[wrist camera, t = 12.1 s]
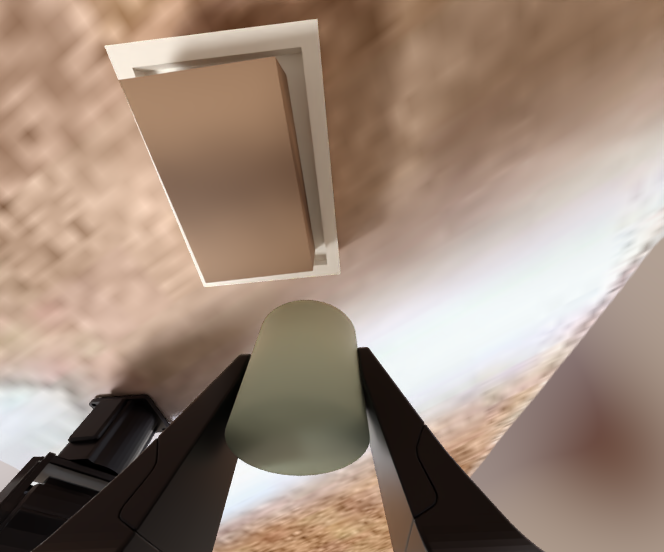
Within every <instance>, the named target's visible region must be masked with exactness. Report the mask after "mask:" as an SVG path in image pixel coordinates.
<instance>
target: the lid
mask: <svg viewBox="0 0 664 552" xmlns="http://www.w3.org/2000/svg"><path fill="white" fill-rule="evenodd" d="M119 82H120V85H121V87H122V89H123V92H124V94H125V96H126V99H127V101H128V103H129V106H130V108H131V110H132V112H133V115H134V117H135V119H136V122H137V124H138V126H139V129H140V131H141V133H142V136H143V138H144V140H145V143H146V145H147V147H148V150H149V152H150V154H151V157H152V159H153V161H154V164H155V166H156V168H157V171H158V173H159V175H160V178H161V180H162V182H163V185H164V187H165V189H166V192H167V194H168V196H169V199H170V201H171V203H172V205H173V208H174V210H175V212H176V215H177V217H178V219H179V222H180V224H181V226H182V229H183V231H184V233H185V236H186V238H187V240H188V243H189V245H190V247H191V250H192V252H193V254H194V257H195V259H196V261H197V264H198V266H199V268H200V271H201V273H202V275H203V278H204V280H205V282H206V283H212V282H221V281H230V280H238V279H247V278H256V277H265V276H273V275H282V274H291V273H299V272H308V271H313V266H314V256H315V245H314V239H313V233H312V227H311V221H310V215H309V209H308V203H307V197H306V191H305V185H304V179H303V172H302V166H301V160H300V154H299V148H298V142H297V136H296V130H295V124H294V118H293V112H292V106H291V100H290V93H289V87H288V81H287V75H286V73H285V72H284V70H283V69H282V67H281V65H280V64H279V62H278V61H277V59H276V57H275V56H274V57H267V58H260V59H254V60H247V61H241V62H234V63H227V64H221V65H214V66H208V67H201V68H194V69H188V70H181V71H174V72H168V73H161V74H155V75H148V76H141V77H135V78H128V79H122V80H119Z"/></svg>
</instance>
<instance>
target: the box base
mask: <svg viewBox="0 0 664 552" xmlns="http://www.w3.org/2000/svg"><path fill="white" fill-rule="evenodd" d="M105 48H106V51H107V53H108V56H109V58H110V60H111V63H112V65H113V68H114V70H115V72H116V75H117V77H118V80H122V79H128V78H135V77H141V76H148V75H155V74H161V73H168V72H174V71H181V70H188V69H194V68H201V67H208V66H214V65H221V64H227V63H234V62H241V61H247V60H254V59H260V58H267V57H274V56H275V57H276V59H277V61H278V62H279V64H280V65H281V67H282V69H283V70H284V72H285V73H286V75H287V81H288V87H289V93H290V100H291V106H292V112H293V118H294V124H295V130H296V136H297V142H298V148H299V154H300V160H301V166H302V172H303V179H304V185H305V191H306V197H307V203H308V209H309V215H310V221H311V227H312V233H313V239H314V245H315V256H314V266H313V271H308V272H299V273H291V274H282V275H273V276H265V277H256V278H247V279H238V280H230V281H221V282H212V283H206V282H205V280H204V278H203V275H202V273H201V271H200V268H199V266H198V264H197V261H196V259H195V257H194V254H193V252H192V250H191V247H190V245H189V243H188V240H187V238H186V236H185V233H184V231H183V229H182V226H181V224H180V222H179V219H178V217H177V215H176V212H175V210H174V208H173V205H172V203H171V201H170V199H169V196H168V194H167V192H166V189H165V187H164V185H163V182H162V180H161V178H160V175H159V173H158V171H157V168H156V166H155V164H154V161H153V159H152V157H151V154H150V152H149V150H148V147H147V145H146V143H145V140H144V138H143V136H142V138H143V140H144V143H145V145H146V148H147V150H148V152H149V155H150V157H151V160H152V162H153V165H154V167H155V169H156V172H157V174H158V177H159V179H160V182H161V184H162V186H163V189H164V191H165V194H166V196H167V198H168V201H169V203H170V206H171V208H172V211H173V213H174V215H175V218H176V220H177V223H178V225H179V228H180V230H181V232H182V235H183V237H184V240H185V242H186V245H187V247H188V249H189V252H190V254H191V257H192V259H193V261H194V264H195V266H196V269H197V271H198V274H199V276H200V278H201V281H202V283H203V286H204V287H211V286H221V285H232V284H242V283H253V282H263V281H274V280H284V279H295V278H306V277H316V276H327V275H337V274H341V272H340V261H339V250H338V239H337V228H336V217H335V206H334V195H333V184H332V173H331V162H330V152H329V141H328V130H327V119H326V108H325V97H324V86H323V75H322V64H321V53H320V42H319V31H318V20H317V19H312V20H304V21H296V22H289V23H281V24H273V25H265V26H257V27H249V28H241V29H233V30H225V31H217V32H210V33H202V34H194V35H186V36H178V37H170V38H162V39H154V40H146V41H138V42H131V43H123V44H115V45H107V46H105ZM125 97H126V96H125ZM127 102H128V101H127ZM128 104H129V103H128ZM130 109H131V108H130ZM131 111H132V110H131ZM132 114H133V112H132ZM133 116H134V115H133ZM134 119H135V117H134ZM135 121H136V119H135ZM136 123H137V122H136ZM137 126H138V124H137ZM138 128H139V126H138ZM139 131H140V129H139ZM140 133H141V131H140ZM141 135H142V133H141Z"/></svg>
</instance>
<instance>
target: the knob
mask: <svg viewBox="0 0 664 552" xmlns="http://www.w3.org/2000/svg"><path fill="white" fill-rule="evenodd" d="M357 349H358V348H357V341H356V333H355V329H354V326H353V324H352V322H351V321H350V319H349V318H348V317H347V316H346V315H345V314H344V313H343V312H342V311H341V310H339V309H337V308H336V307H334V306H332V305H330V304H327V303H324V302H319V301H313V300H300V301H293V302H289V303H286V304H284V305H281V306H279V307H277V308H276V309H275V310H273V311H272V312H271V313H270V314H269V315H268V316H267V317H266V318H265V320H264V322H263V323H262V326H261V329H260V332H259V335H258V338H257V341H256V343H255V346H254V349H253V352H252V355H251V358H250V360H249V363H248V366H247V369H246V372H245V375H244V377H243V380H242V383H241V386H240V389H239V392H238V394H237V397H236V400H235V403H234V406H233V409H232V412H231V414H230V417H229V420H228V423H227V426H226V429H225V441H226V443H227V446H228V447H229V449H230V450H231V451H232V452H233V453H234V455H236V456H237V457H238V458H239V459H241V460H242V461H244V462H245V463H247V464H249V465H251V466H253V467H256V468H258V469H261V470H264V471H268V472H272V473H277V474H283V475H296V476H305V475H317V474H323V473H328V472H332V471H335V470H338V469H341V468H344V467H346V466H348V465H350V464H352V463H353V462H355V461H356V460H357V459H359V458H360V457H361V456H362V455H363V454H364V453H365V451H366V449H367V448H368V445H369V442H370V433H369V426H368V418H367V411H366V404H365V397H364V391H363V386H362V380H361V373H360V366H359V359H358V352H357Z"/></svg>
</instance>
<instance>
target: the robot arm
mask: <svg viewBox="0 0 664 552" xmlns="http://www.w3.org/2000/svg"><path fill="white" fill-rule="evenodd" d="M357 352H358V359H359V366H360V373H361V380H362V386H363V391H364V397H365V404H366V411H367V418H368V426H369V433H370V442H369V443H370V447H371V452H372V456H373V461H374V465H375V470H376V474H377V479H378V483H379V488H380V492H381V497H382V501H383V506H384V510H385V515H386V519H387V524H388V528H389V533H390V537H391V542H392V546H393V551H394V552H544V551H543V550H541V549H540V548H539V547H537V546H536V545H535V544H534V543H532V542H531V541H530V540H529V539H527V538H526V537H525V536H524V535H523V534H522V533H521V532H520V531H518V529H516V528H515V527H514V526H513V525H512V524H511V523H510V522H509V520H508V519H507V518H506V517H505V516H504V515H503V514H502V513H501V512H500V511H499V510H498V509H497V507H496V506H495V505H494V504H493V503H492V502H491V501H490V500H489V498H488V497H487V496H486V495H485V494H484V493H483V492H482V491H481V490H480V488H479V487H478V486H477V485H476V484H475V483H474V482H473V481H472V480H471V479H470V477H469V476H468V475H467V474H466V473H465V472H464V471H463V470H462V469H461V467H460V466H459V465H458V464H457V463H456V462H455V460H454V459H453V458H452V457H451V456H450V455H449V454H448V452H447V451H446V450H445V449H444V447H443V446H442V445H441V444H440V442H439V441H438V440H437V439H436V437H435V436H434V435H433V433H432V432H431V431H430V429H429V428H428V427H427V425H424V421H423V420H422V419H421V417H420V416H419V415H418V413H417V412H416V411H415V409H414V408H413V407H412V405H411V404H410V403H409V401H408V400H407V399H406V397H405V396H404V395H403V393H402V392H401V391H400V389H399V388H398V387H397V385H396V384H395V383H394V381H393V380H392V379H391V377H390V376H389V375H388V373H387V372H386V370H385V369H384V368H383V366H382V365H381V364H380V362H379V361H378V360H377V358H376V357H375V356H374V354H373V353H372V352H371V350H370V349H369V348H368V347H360V348H358V349H357ZM250 358H251V354H241V355H239V356H238V357H237V358H236V359H235V360H234V361H233V362H232V363H231V364H230V365H229V366H228V367H227V368H226V369H225V370H224V371H223V372H222V373H221V374H220V375H219V376H218V377H217V378H216V379H215V380H214V381H213V382H212V383H211V384H210V385H209V386H208V387H207V388H206V389H205V390H204V391H203V392H202V393H201V394H200V395H199V396H198V397H197V398H196V399H195V400H194V401H193V402H192V403H191V404H190V405H189V406H188V407H187V408H186V409H185V410H184V411H183V412H182V413H181V414H180V415H179V416H178V417H177V418H176V419H175V420H174V421H173V422H172V423H171V424H170V425H169V424H168V422H167V421H166V419H165V418H164V417H163V415H162V414H161V413H160V411H159V410H158V408H157V407H156V406H155V404H154V403H153V402H152V400H151V399H150V397H149V396H147V395H135V396H123V397H111V398H98V399H93V400H92V401H91V402H90V403H89V405H90V406H91V407H92V408H93V410H92V412H91V413H90V414H89V415H88V416H87V417H86V419H85V420H84V421H83V422H82V423H81V424H80V426H79V427H78V428H77V429H76V430H75V431H74V432H73V434H72V435H71V436H70V437H69V439H68V441H69V443H68V444H67V445H66V446H65V448H64V449H63V450H62V451H61V452H60V454H59V455H58V456H56V454H54V453H51V452H49V453H48V454H47V455H46V456H45V457H43V456H42V457H33V458H32V459H31V460H30V461H29V462H28V463H27V464H26V465H25V466H24V468H23V469H22V470H21V471H20V472H19V473H18V474H17V475H16V476H15V477H14V478H13V479H12V480H11V482H10V483H9V484H8V485H7V486H6V487H5V488H4V489H3V490H2V492H0V552H212V551H213V547H214V543H215V540H216V536H217V532H218V529H219V525H220V522H221V518H222V514H223V511H224V507H225V503H226V500H227V496H228V492H229V489H230V485H231V481H232V478H233V474H234V470H235V467H236V463H237V459H238V457H237V456H236V455H234V453H233V452H232V451H231V450H230V449H229V447H228V446H227V443H226V441H225V429H226V426H227V423H228V420H229V417H230V414H231V412H232V409H233V406H234V403H235V400H236V397H237V394H238V392H239V389H240V386H241V383H242V380H243V377H244V375H245V372H246V369H247V366H248V363H249V360H250ZM157 432H162V433H161V434H160V435H159V437H158V438H157V439H155V440H154V441H153V442H152V443H151V444H150V445H149V446H148V444H149V443H150V441H151V439H152V438H153V436H154V434H155V433H157ZM147 446H148V447H147ZM33 481H35V482H38V483H39V484H37V485H34V486H33V485H30V484H31V483H32V482H33ZM40 483H42V484H40Z"/></svg>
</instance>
